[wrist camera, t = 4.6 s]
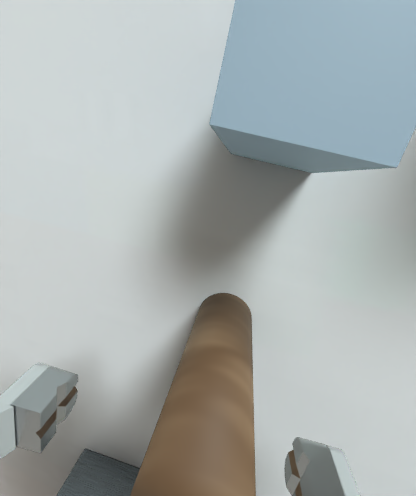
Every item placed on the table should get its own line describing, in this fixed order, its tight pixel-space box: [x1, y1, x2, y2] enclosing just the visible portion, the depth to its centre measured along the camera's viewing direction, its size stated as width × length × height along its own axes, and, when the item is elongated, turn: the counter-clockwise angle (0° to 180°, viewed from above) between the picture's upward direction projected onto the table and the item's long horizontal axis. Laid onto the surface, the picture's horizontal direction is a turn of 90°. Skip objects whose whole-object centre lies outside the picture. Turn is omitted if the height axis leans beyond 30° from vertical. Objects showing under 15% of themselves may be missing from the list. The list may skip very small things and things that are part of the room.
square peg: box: [209, 0, 416, 173], centre depth 8 cm, size 4×4×7 cm
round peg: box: [130, 293, 256, 496], centre depth 10 cm, size 3×3×9 cm
